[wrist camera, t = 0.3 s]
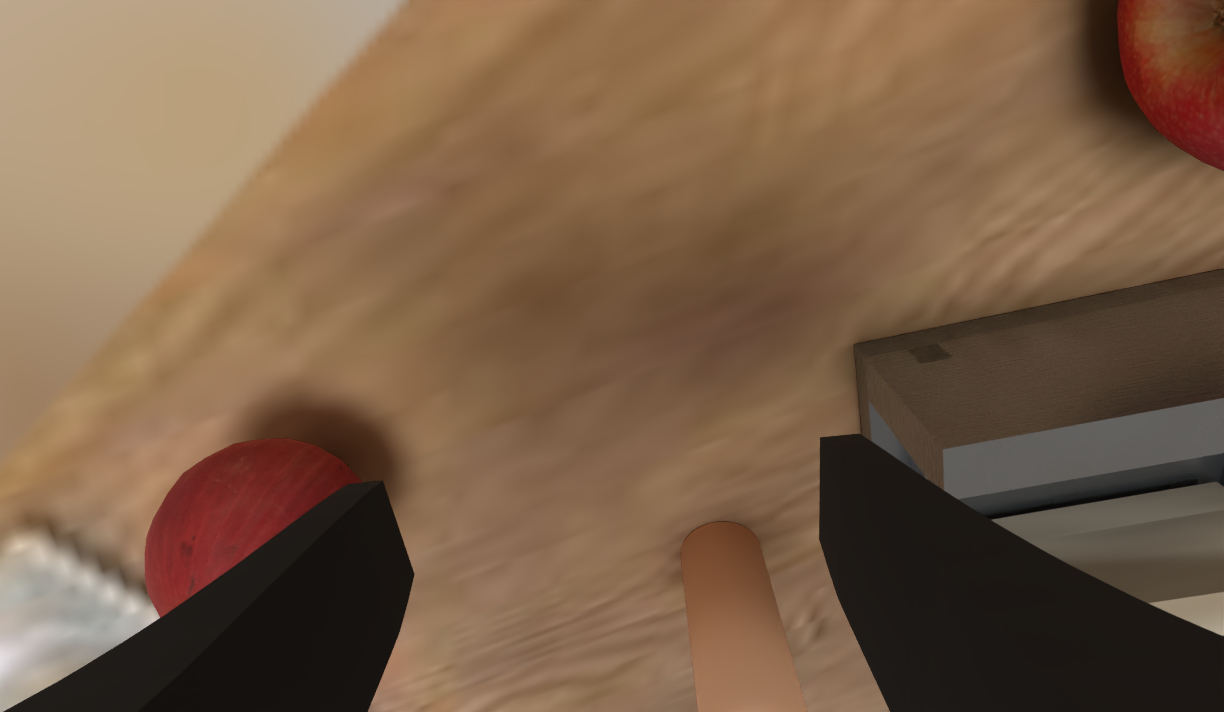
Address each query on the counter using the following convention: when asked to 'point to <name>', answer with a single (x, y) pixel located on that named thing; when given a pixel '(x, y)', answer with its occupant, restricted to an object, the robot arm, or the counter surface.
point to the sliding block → (1144, 547)
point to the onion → (233, 511)
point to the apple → (1177, 70)
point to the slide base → (1057, 398)
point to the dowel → (735, 625)
